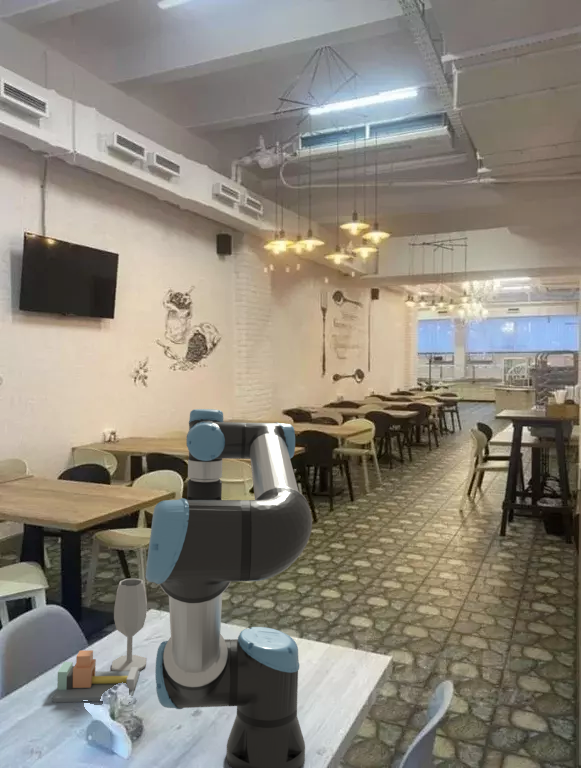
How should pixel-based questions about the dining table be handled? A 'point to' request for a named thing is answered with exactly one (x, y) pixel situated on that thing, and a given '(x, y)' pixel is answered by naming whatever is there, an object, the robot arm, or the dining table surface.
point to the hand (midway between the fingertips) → (202, 584)
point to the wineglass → (130, 620)
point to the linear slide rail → (99, 684)
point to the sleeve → (84, 669)
